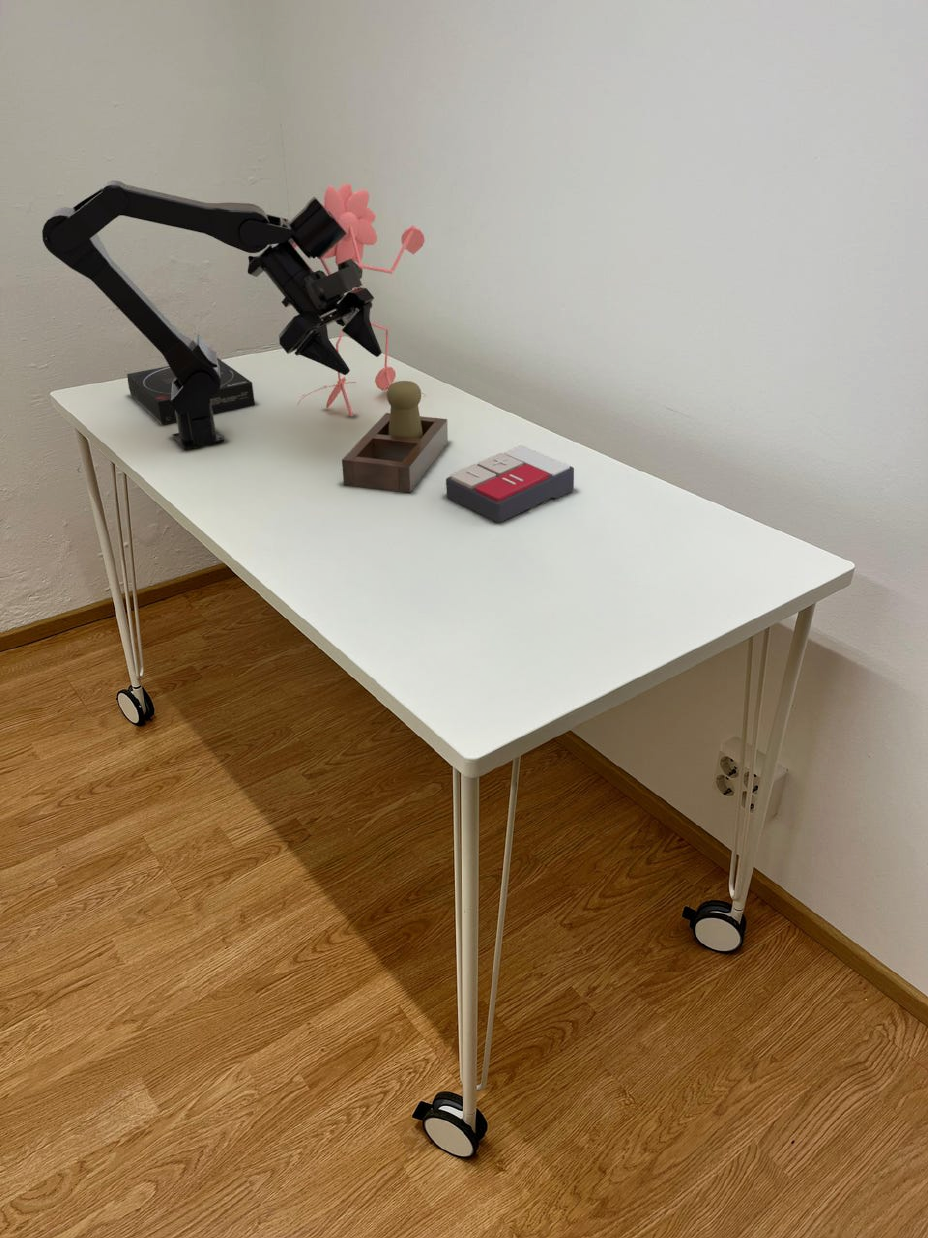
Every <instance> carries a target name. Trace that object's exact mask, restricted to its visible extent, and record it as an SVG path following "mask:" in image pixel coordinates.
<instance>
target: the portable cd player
mask: <svg viewBox="0 0 928 1238" xmlns="http://www.w3.org/2000/svg"><path fill="white" fill-rule="evenodd" d="M217 361H218V363H219V366H220V378H221V383H220V388H219V391H218V392H217V393H216V394H215V395H214V396H212V397H211V398H210V400H211V404H212V411H213V415H215V414H219V413H224V412H229V411H234V410H239V409H243V408H248V407H252V406H255V405H256V403H255V393H254V387H253V386H254V385H253V382H252V381H251V380H249V378H247V377H245V376H244V375H242V374H241V373H240V372H238V371H237V370H236V369H234V368H232V367H231V366H230V365H228V364H227V363H225V362H224V361H223V360H222V359H220V358H219V357H217ZM126 376H127V386H128V390H129V393H130V396H131V398H133V399H134V400H135V401H136V402H137V403H138V404H139V405H140V406H141V407H142V408H143V409H144V410H145V411H147V413H148V414H149V415H151V416H152V417H153V419H155V420H156V421H157V422H158V424H160V425H161V426H165V425H170V424H174V423H175V424H176V423H177V420H176V415H175V409H174V407H173V406H172V404H171V392H172V382H173V381H174V380H175V379H176V377H175V375H174V374H173V372H172V370H171V368H170V367H169V365H167V366H161V367H157V368H151V369H146V370H142V371H141V370H140V371H136V372H131V373H126Z"/></svg>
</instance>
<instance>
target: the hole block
mask: <svg viewBox="0 0 928 1238" xmlns="http://www.w3.org/2000/svg"><path fill="white" fill-rule="evenodd" d="M420 420H421V426H422V432H423V437H422V438H421V439H417V438H407V437H398V436H389V435H388V434H389V422H390V412H385V413H384V414H383V415H382V416H381V417H380V419H379V420H378V421H376V423H375V424H374V425H372V427H371V428H370V429H369V430H368V431H367V433H365V434H364V435H363V436H362V438H361V439H359V441H358V442H357V443H356V444H355V445H354V446H353V447H352V448H351V449H350V450H349V451H348V452H347V454H346V455H345V456H344V457H343V458H342V459H341V466H342V478H343V479H342V480H343V485H344V486H349V487H359V488H367V489H375V490H382V491H383V490H384V491H391V492H397V493H399V492H400V493H406V494H411V492H412V491H413V490H414V488H415V487H416V486H417V484H418V483H419V482H420V480H421V479H422V478H423V476H424V475H425V474H426V472H427V471H428V470H429V468H431V466H432V465H433V463H434V462H435V461H436V459H438V457H439V455H440V454H441V453H442V451H443V450H444V448H445V447H446V446H447V444H448V442H449V437H448V435H449V434H448V430H449V429H448V418H441V417H440V418H439V417H432V416H421V415H420Z"/></svg>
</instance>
